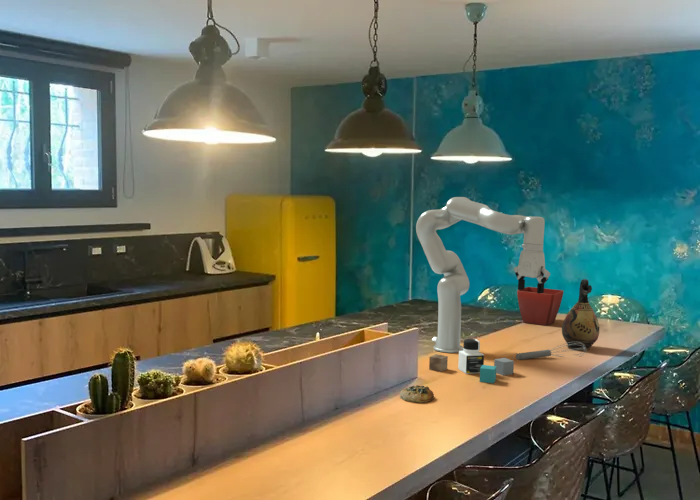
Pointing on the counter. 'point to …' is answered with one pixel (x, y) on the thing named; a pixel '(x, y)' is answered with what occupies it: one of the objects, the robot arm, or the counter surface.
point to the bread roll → (417, 394)
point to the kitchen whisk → (541, 353)
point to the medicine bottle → (470, 357)
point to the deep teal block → (487, 374)
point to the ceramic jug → (581, 322)
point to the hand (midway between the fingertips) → (530, 291)
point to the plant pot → (539, 305)
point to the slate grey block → (504, 366)
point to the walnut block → (438, 362)
